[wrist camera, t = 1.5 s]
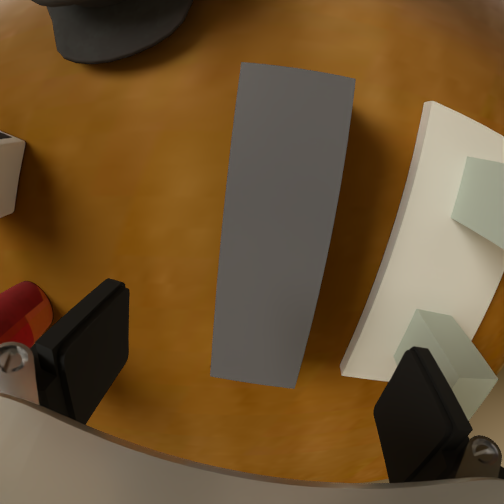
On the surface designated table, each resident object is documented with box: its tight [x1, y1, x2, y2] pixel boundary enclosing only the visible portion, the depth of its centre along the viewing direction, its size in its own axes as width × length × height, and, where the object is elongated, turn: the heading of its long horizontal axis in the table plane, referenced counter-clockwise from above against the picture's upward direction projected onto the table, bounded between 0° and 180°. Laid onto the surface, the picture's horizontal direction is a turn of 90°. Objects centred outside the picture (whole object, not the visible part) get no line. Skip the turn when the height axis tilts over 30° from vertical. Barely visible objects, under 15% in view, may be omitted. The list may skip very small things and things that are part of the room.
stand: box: [340, 101, 504, 421], centre depth 19 cm, size 24×12×10 cm, turn 168°
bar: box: [210, 62, 355, 389], centre depth 21 cm, size 20×6×7 cm, turn 173°
